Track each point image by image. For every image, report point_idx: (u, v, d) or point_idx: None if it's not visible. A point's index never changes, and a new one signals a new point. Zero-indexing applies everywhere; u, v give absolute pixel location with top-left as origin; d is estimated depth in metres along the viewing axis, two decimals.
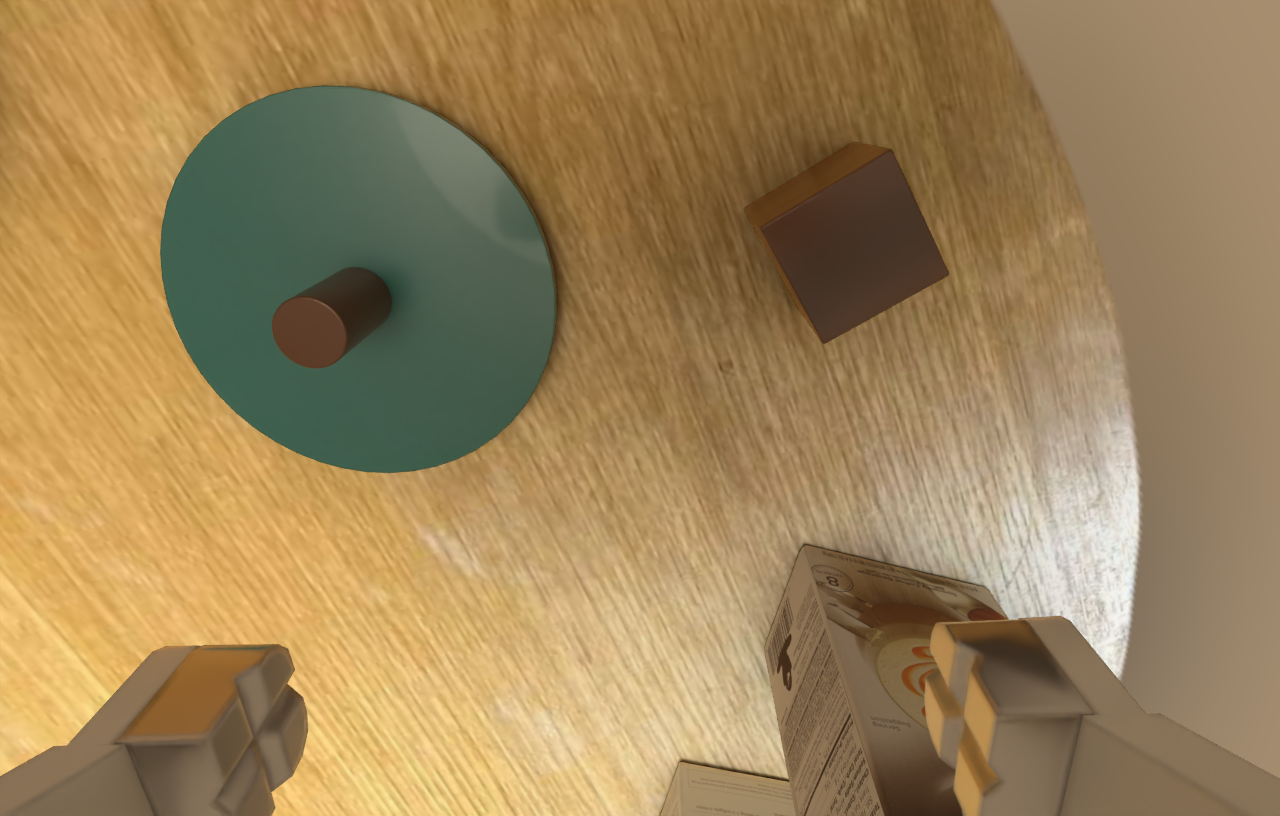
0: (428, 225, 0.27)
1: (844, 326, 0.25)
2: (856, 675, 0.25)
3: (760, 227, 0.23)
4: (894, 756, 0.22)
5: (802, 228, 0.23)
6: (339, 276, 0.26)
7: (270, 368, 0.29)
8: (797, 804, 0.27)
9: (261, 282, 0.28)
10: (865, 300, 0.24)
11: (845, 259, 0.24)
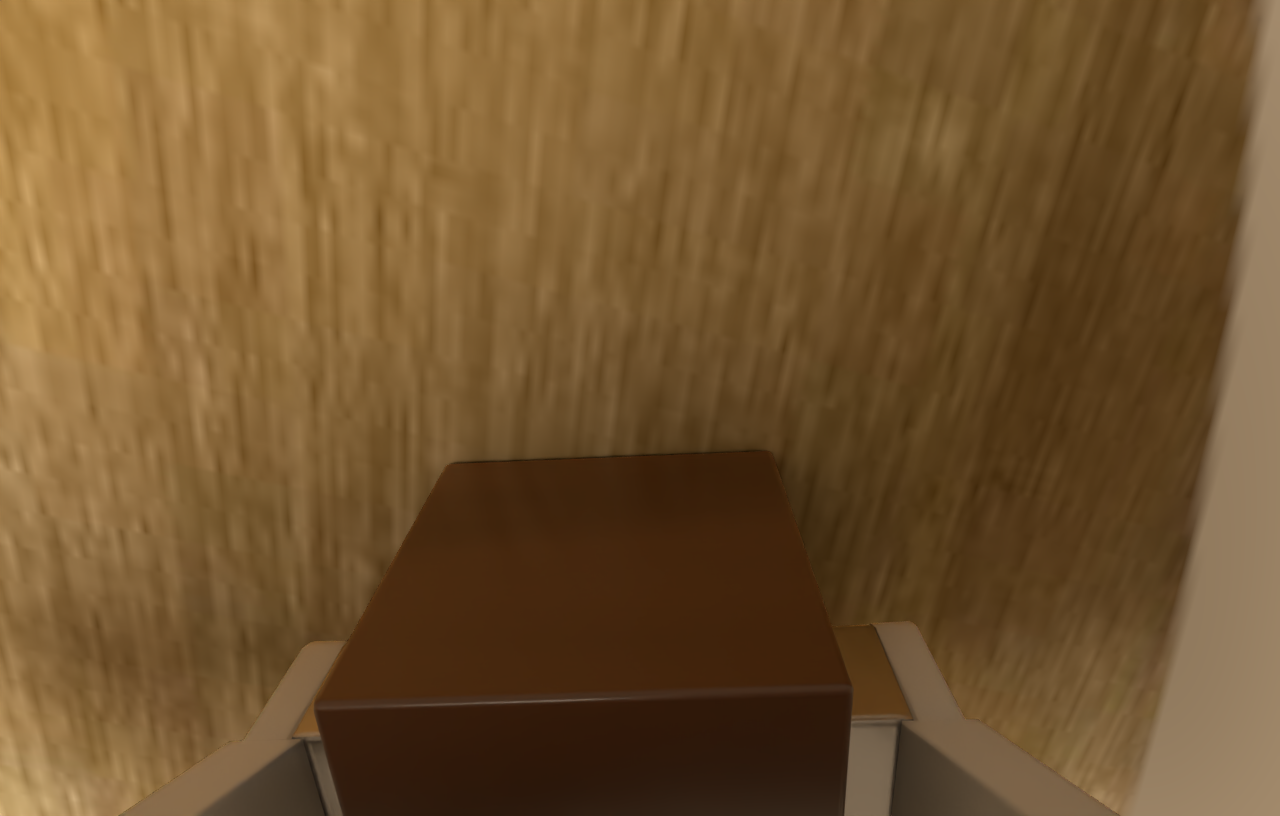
0: None
1: None
2: None
3: (318, 697, 0.06)
4: None
5: (454, 765, 0.06)
6: None
7: None
8: None
9: None
10: None
11: None
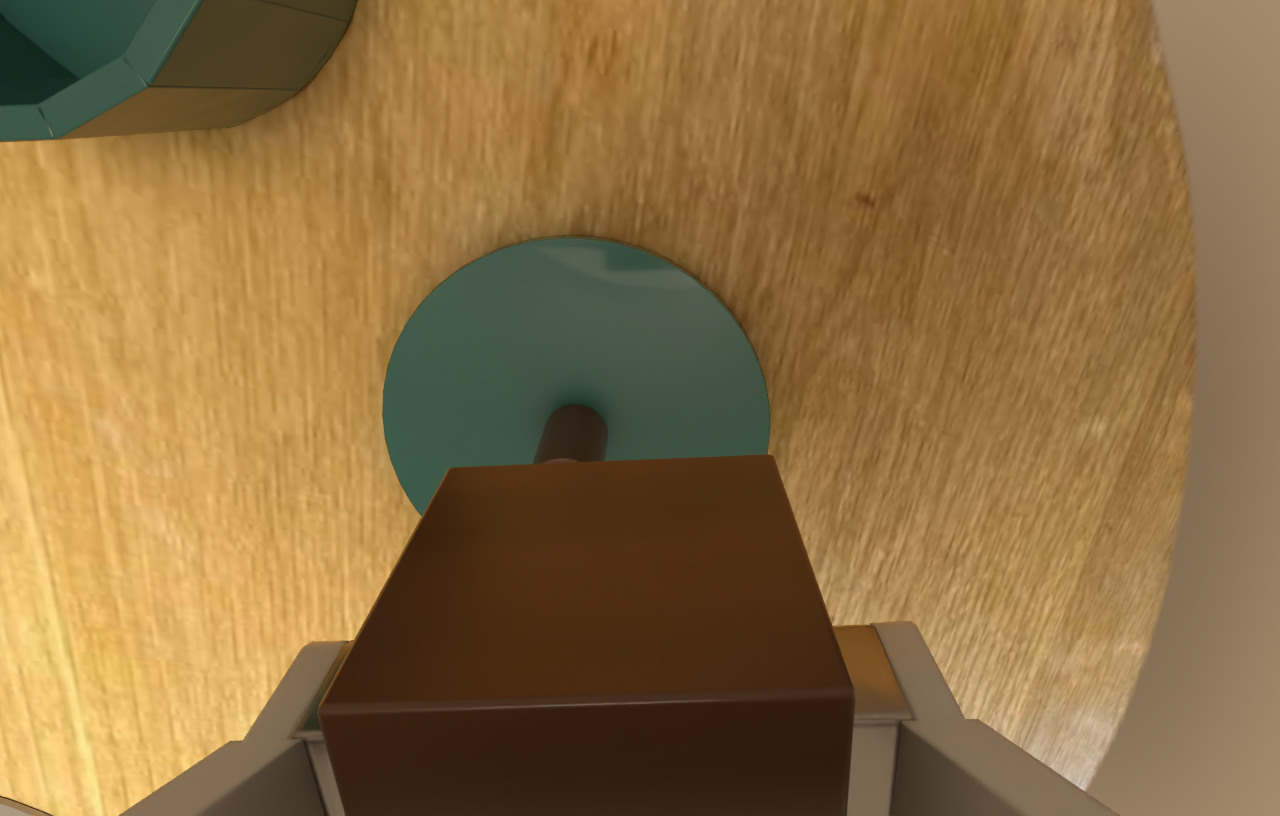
0: (677, 410, 0.28)
1: None
2: None
3: (322, 702, 0.06)
4: None
5: (458, 770, 0.06)
6: (588, 426, 0.26)
7: (452, 444, 0.28)
8: None
9: (497, 376, 0.27)
10: None
11: None
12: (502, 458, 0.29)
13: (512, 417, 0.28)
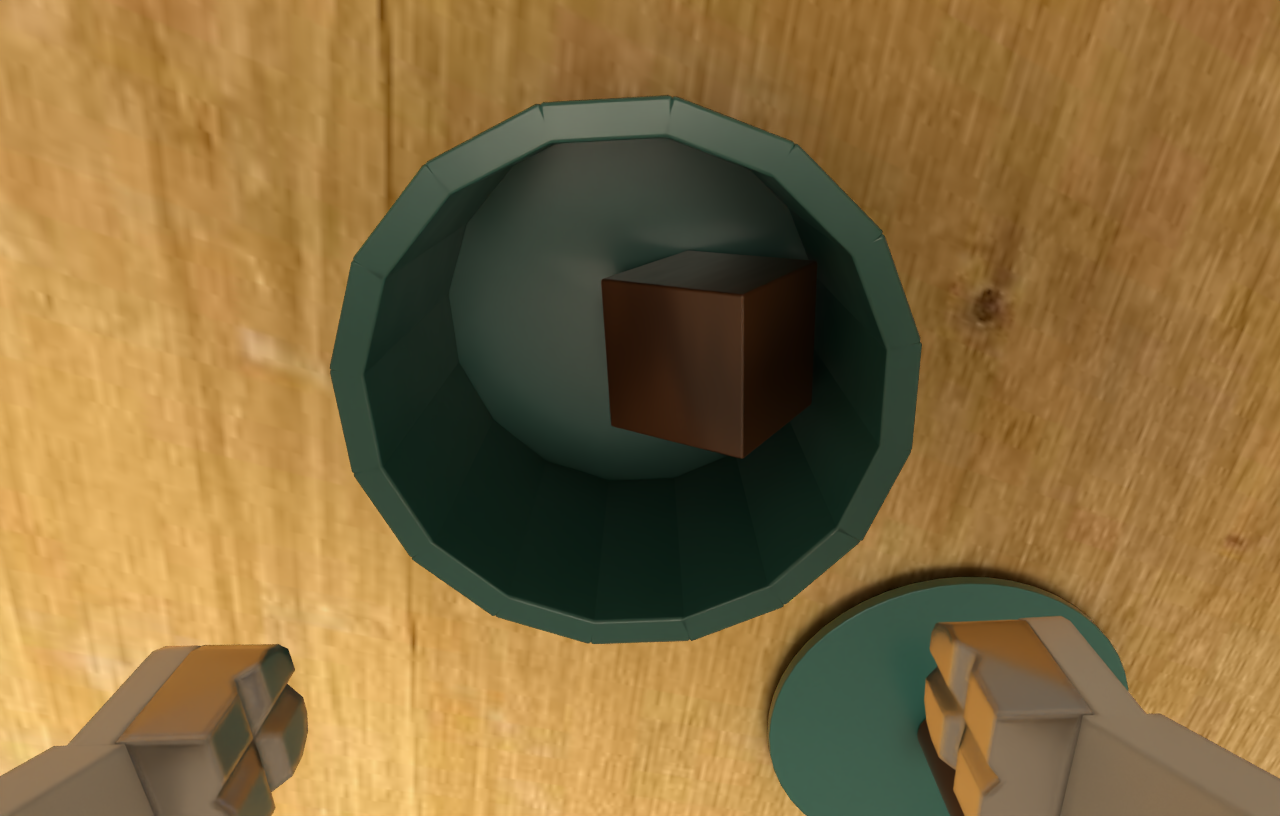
0: None
1: (758, 440, 0.21)
2: None
3: (739, 295, 0.18)
4: None
5: (764, 312, 0.19)
6: None
7: (830, 741, 0.31)
8: None
9: (884, 688, 0.30)
10: (774, 413, 0.21)
11: (775, 362, 0.20)
12: (873, 751, 0.31)
13: (890, 719, 0.31)
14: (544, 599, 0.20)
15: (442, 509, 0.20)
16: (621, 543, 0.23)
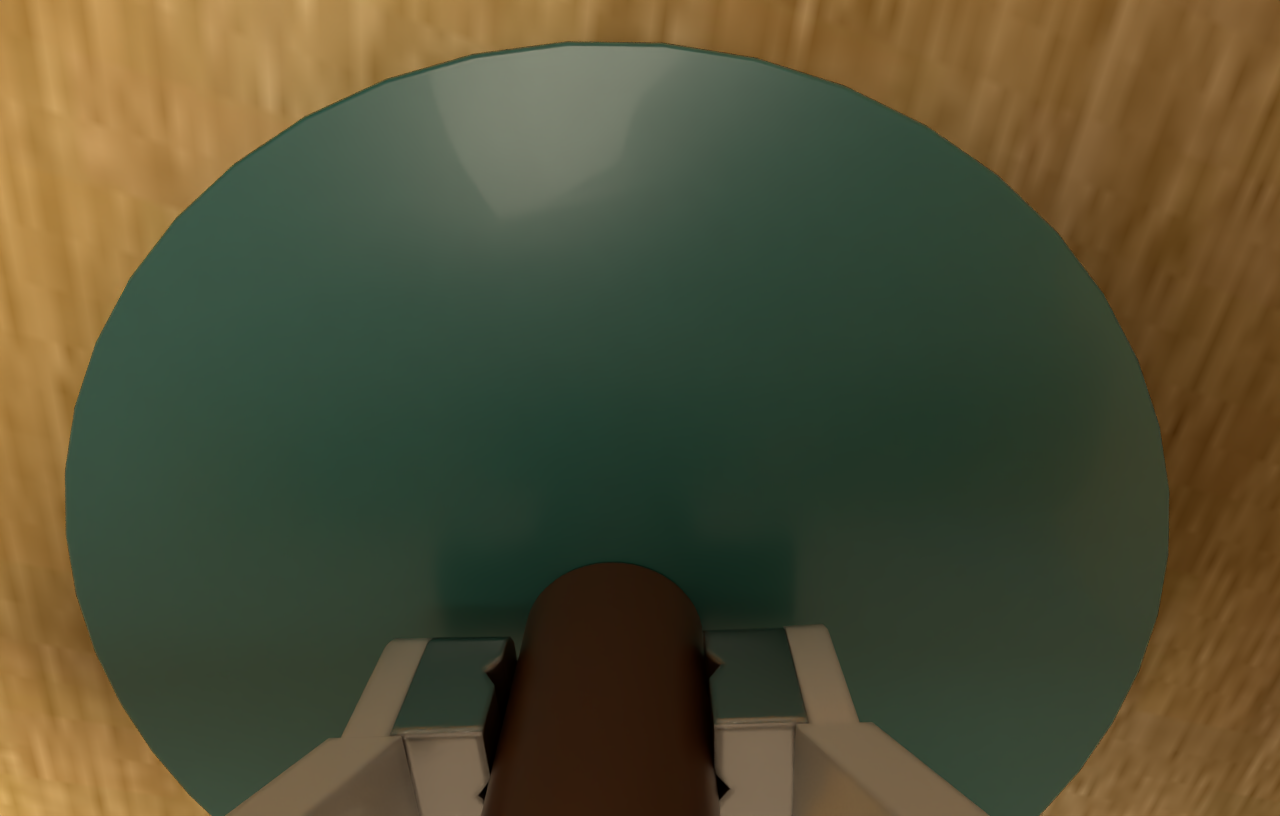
0: (902, 574, 0.10)
1: None
2: None
3: None
4: None
5: None
6: (662, 657, 0.08)
7: (278, 664, 0.10)
8: None
9: (385, 487, 0.09)
10: None
11: None
12: None
13: (436, 596, 0.10)
14: None
15: None
16: None
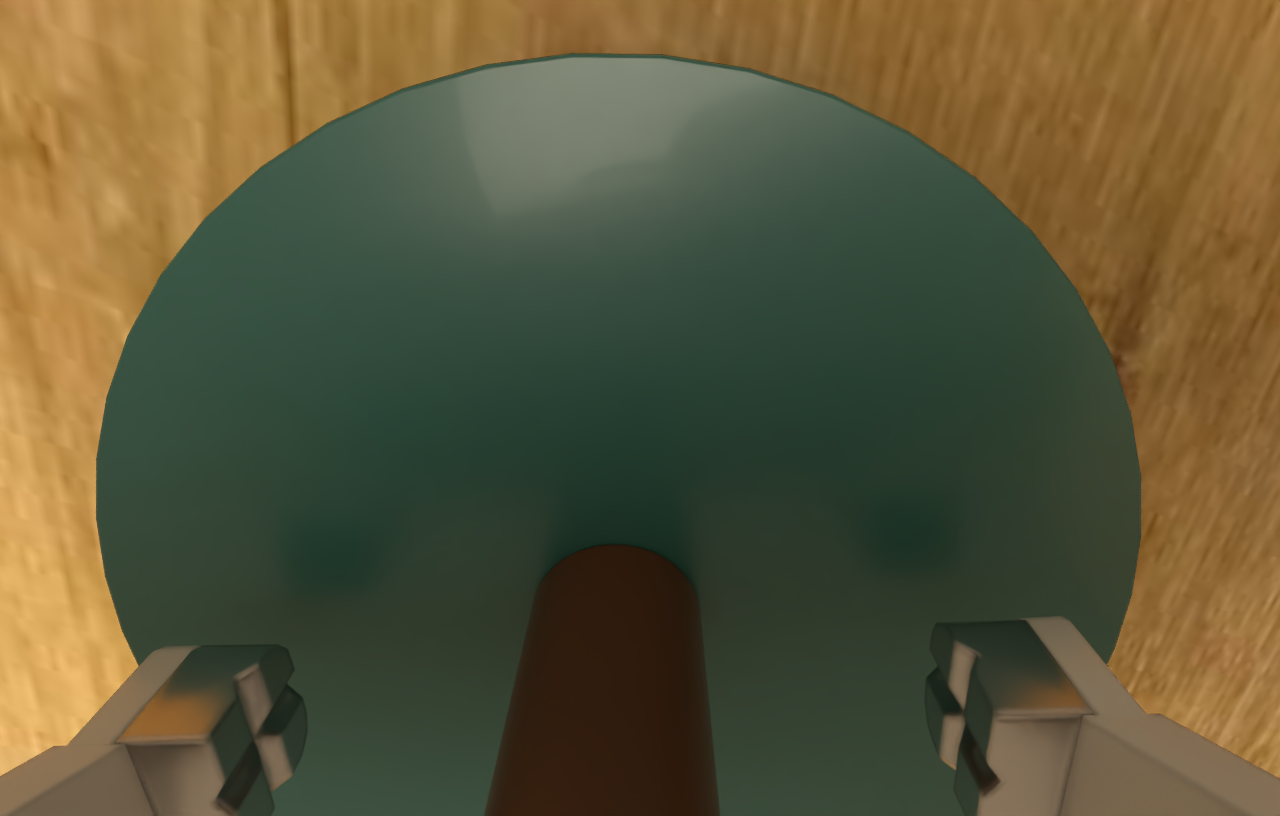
0: (889, 556, 0.10)
1: None
2: None
3: None
4: None
5: None
6: (661, 630, 0.09)
7: (296, 643, 0.11)
8: None
9: (400, 473, 0.10)
10: None
11: None
12: (425, 673, 0.11)
13: (447, 577, 0.11)
14: None
15: None
16: None
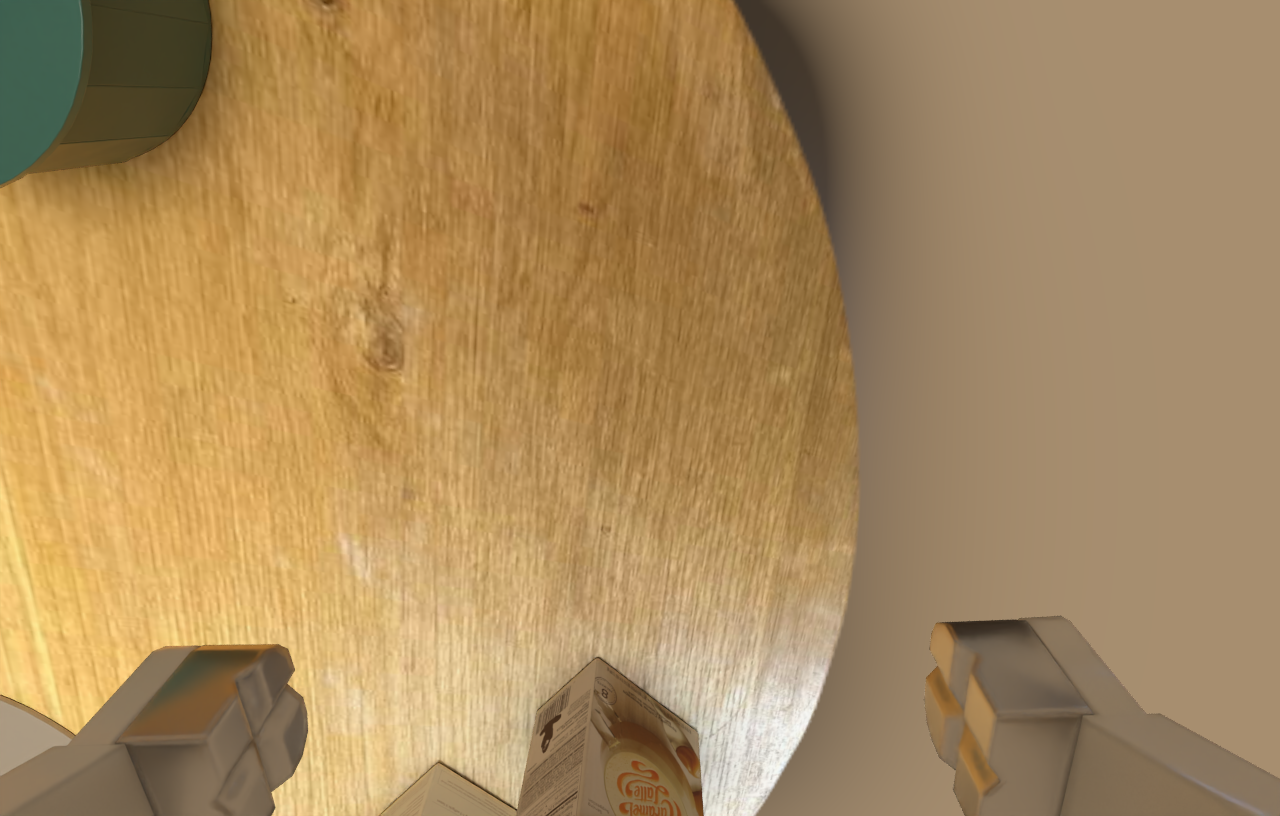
0: None
1: None
2: (591, 768, 0.38)
3: None
4: None
5: None
6: None
7: None
8: None
9: None
10: None
11: None
12: None
13: None
14: None
15: None
16: None
